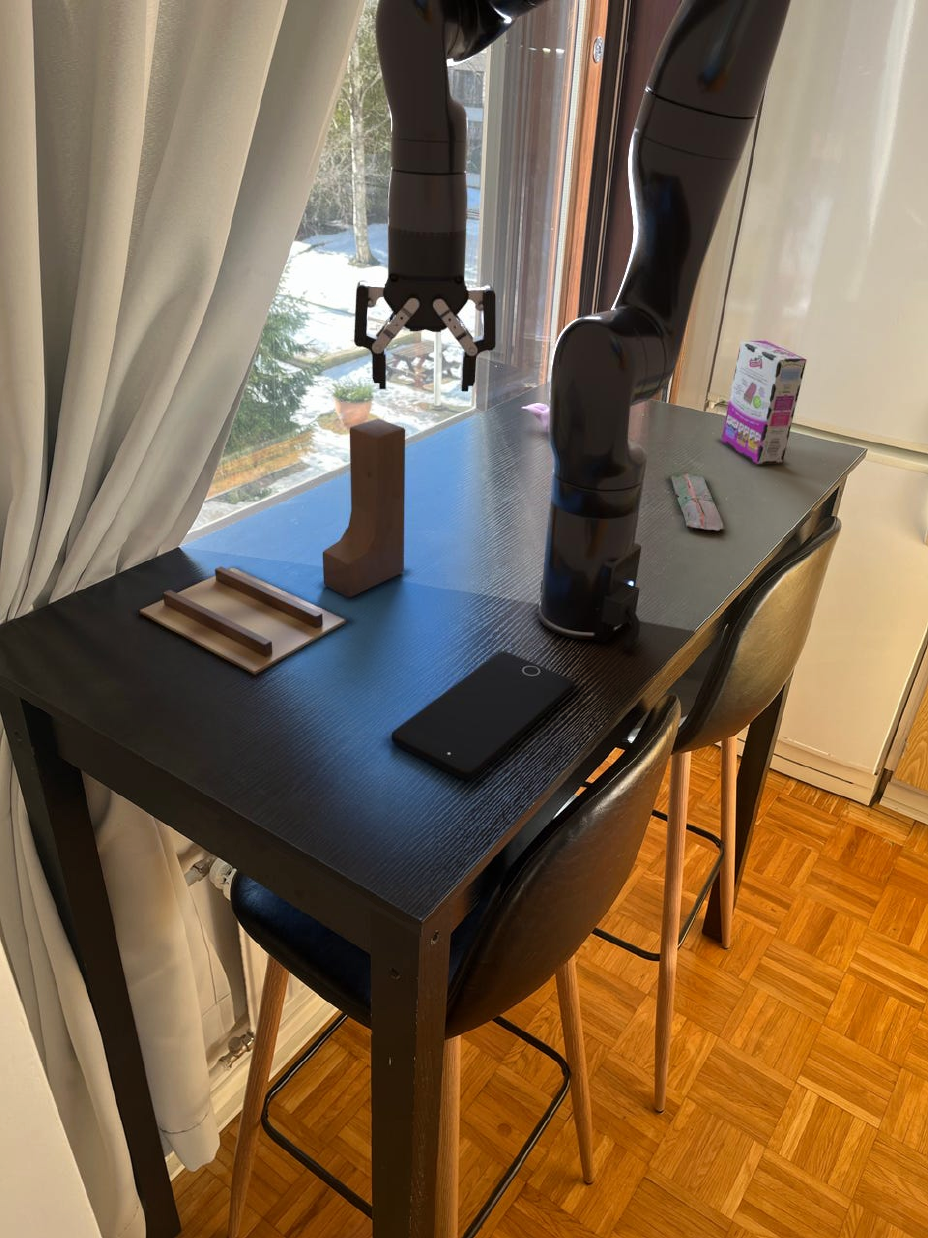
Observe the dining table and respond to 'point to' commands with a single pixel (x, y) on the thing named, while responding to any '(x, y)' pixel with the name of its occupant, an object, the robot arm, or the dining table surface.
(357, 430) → the wooden block
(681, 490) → the map
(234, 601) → the guide
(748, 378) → the candy bar box
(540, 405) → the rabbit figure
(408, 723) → the cell phone
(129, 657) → the dining table surface
